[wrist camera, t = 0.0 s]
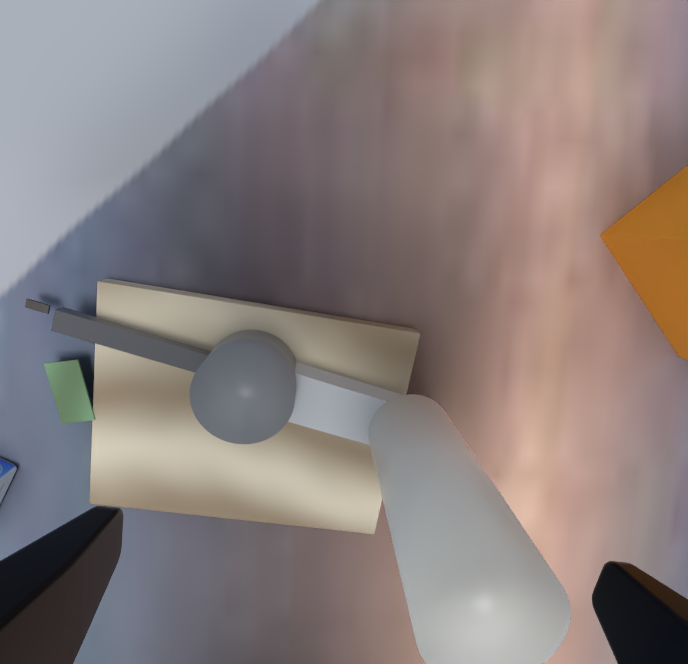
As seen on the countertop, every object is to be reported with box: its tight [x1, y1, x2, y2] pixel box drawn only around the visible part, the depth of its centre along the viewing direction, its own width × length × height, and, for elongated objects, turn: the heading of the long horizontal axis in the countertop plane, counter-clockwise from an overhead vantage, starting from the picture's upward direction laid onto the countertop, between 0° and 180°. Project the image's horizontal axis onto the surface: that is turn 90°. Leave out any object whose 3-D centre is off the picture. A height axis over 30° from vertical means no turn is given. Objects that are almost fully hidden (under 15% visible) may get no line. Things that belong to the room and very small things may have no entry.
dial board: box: [25, 279, 421, 534], centre depth 22 cm, size 12×19×1 cm, turn 80°
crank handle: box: [51, 307, 571, 664], centre depth 15 cm, size 19×4×12 cm, turn 71°
